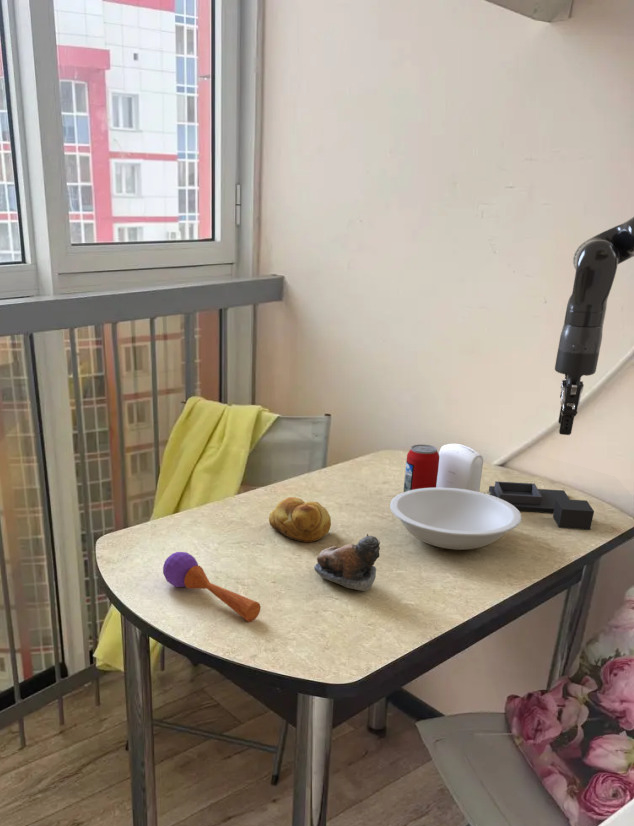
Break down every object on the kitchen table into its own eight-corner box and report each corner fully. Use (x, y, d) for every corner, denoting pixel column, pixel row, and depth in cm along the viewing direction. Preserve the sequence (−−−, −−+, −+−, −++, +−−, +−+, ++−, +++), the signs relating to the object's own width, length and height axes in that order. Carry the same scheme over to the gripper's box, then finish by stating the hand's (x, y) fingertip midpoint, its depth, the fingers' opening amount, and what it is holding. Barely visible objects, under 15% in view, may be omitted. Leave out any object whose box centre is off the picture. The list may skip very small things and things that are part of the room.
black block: (583, 518, 159) (586, 500, 157) (590, 529, 154) (594, 511, 152) (552, 516, 160) (555, 498, 158) (558, 527, 155) (562, 509, 153)
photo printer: (431, 495, 171) (437, 441, 166) (444, 491, 173) (451, 438, 168) (466, 509, 163) (474, 453, 158) (480, 505, 165) (488, 450, 160)
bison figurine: (306, 578, 134) (308, 524, 130) (332, 565, 138) (335, 513, 134) (362, 602, 126) (366, 546, 122) (387, 588, 131) (392, 533, 126)
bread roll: (258, 530, 153) (258, 492, 150) (291, 517, 159) (293, 480, 156) (306, 550, 144) (308, 510, 141) (340, 536, 150) (342, 497, 147)
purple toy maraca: (238, 606, 116) (153, 556, 129) (240, 636, 120) (158, 584, 132) (265, 587, 120) (180, 540, 132) (267, 617, 123) (184, 568, 135)
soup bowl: (543, 549, 145) (549, 517, 142) (451, 579, 134) (456, 544, 131) (449, 509, 164) (453, 479, 161) (361, 532, 152) (364, 500, 150)
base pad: (563, 494, 172) (565, 482, 171) (575, 514, 161) (578, 502, 160) (488, 490, 174) (490, 478, 173) (496, 509, 164) (498, 497, 162)
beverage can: (406, 493, 172) (412, 441, 167) (437, 498, 169) (443, 446, 164) (399, 503, 166) (404, 450, 162) (430, 508, 164) (436, 454, 159)
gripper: (602, 356, 144) (585, 440, 150) (597, 343, 156) (582, 421, 162) (558, 353, 146) (544, 436, 153) (557, 341, 158) (544, 418, 165)
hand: (564, 428), depth 157 cm, fingers open, 8 cm apart
